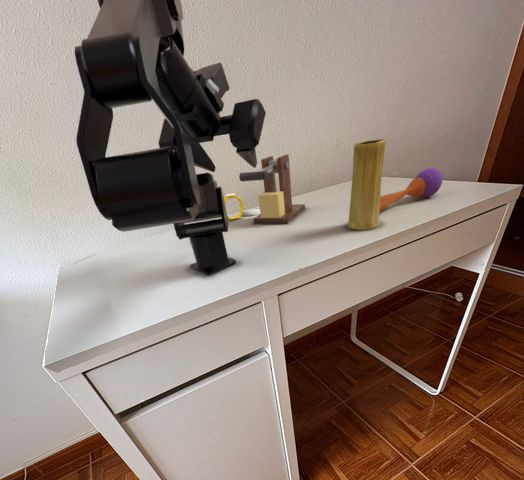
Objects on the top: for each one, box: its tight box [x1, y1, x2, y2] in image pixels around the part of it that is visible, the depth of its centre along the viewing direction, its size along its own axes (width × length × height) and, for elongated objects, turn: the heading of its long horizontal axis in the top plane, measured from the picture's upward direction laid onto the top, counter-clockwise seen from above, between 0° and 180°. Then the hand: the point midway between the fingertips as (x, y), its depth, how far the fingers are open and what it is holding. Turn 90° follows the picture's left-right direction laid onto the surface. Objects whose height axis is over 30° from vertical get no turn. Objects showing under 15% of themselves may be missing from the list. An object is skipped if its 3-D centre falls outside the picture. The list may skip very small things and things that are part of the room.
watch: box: [224, 193, 245, 221], centre depth 77 cm, size 6×3×6 cm, turn 125°
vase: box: [347, 138, 386, 231], centre depth 56 cm, size 6×6×14 cm
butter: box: [257, 190, 285, 218], centre depth 69 cm, size 3×5×5 cm, turn 63°
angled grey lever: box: [238, 158, 278, 182], centre depth 64 cm, size 13×6×2 cm, turn 153°
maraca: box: [379, 167, 444, 212], centre depth 67 cm, size 6×6×20 cm
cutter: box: [253, 154, 306, 225], centre depth 70 cm, size 12×9×13 cm
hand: (234, 167), depth 55 cm, fingers open, 9 cm apart
